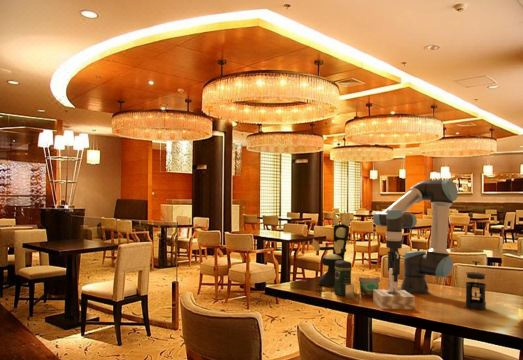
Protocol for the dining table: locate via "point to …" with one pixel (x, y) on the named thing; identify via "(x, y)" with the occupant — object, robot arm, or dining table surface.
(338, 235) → the dark tall irregular piece
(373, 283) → the food container
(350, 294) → the brass pin
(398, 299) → the tissue box
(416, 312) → the dining table surface
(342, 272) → the coffee jar
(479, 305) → the french press
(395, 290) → the steel pin
